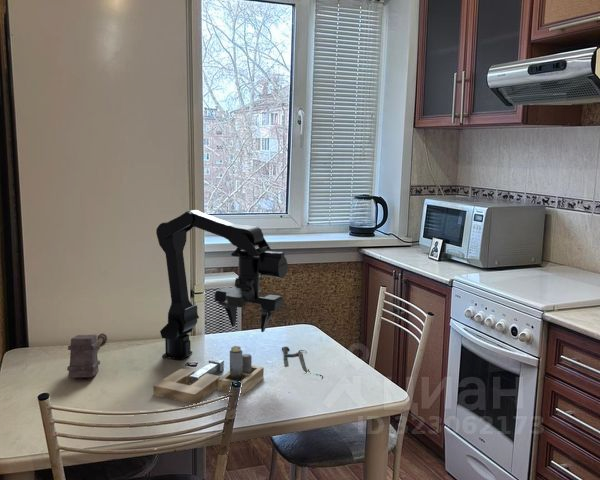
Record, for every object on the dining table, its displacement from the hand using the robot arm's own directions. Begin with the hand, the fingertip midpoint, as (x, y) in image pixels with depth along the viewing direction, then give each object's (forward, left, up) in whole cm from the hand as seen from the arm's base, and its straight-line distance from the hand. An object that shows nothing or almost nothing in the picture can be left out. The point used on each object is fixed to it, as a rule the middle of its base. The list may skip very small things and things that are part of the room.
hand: (247, 328), depth 158 cm
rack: (+3, -9, -12) cm, 15 cm away
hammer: (-44, -12, -12) cm, 47 cm away
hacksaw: (+12, +11, -12) cm, 20 cm away
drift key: (-7, -9, -12) cm, 17 cm away
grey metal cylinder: (+3, -12, -11) cm, 17 cm away
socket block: (-7, -18, -12) cm, 23 cm away
